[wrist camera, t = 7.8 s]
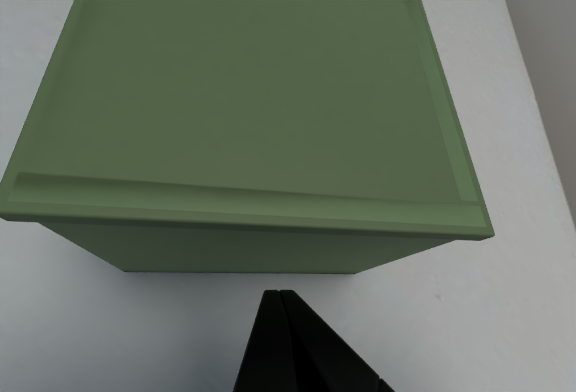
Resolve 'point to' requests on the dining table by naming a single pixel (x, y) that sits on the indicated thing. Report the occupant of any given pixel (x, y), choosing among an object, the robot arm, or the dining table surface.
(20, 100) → the dining table surface
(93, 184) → the storage box
